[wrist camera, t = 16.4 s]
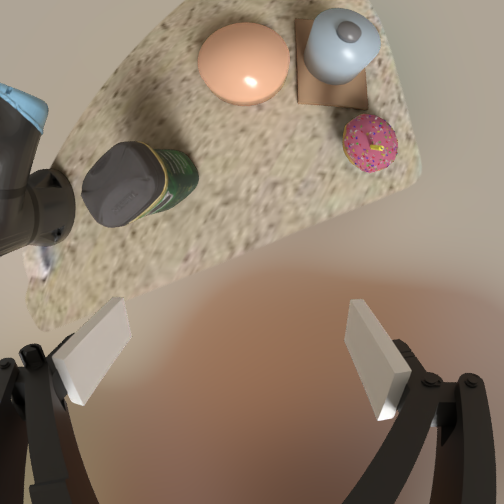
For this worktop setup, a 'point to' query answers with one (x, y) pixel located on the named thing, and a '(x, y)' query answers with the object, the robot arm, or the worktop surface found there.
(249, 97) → the peach round dome
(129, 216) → the coffee jar
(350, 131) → the cupcake
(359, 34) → the blue-grey knobbed jar
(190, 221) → the worktop surface
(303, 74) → the mat
